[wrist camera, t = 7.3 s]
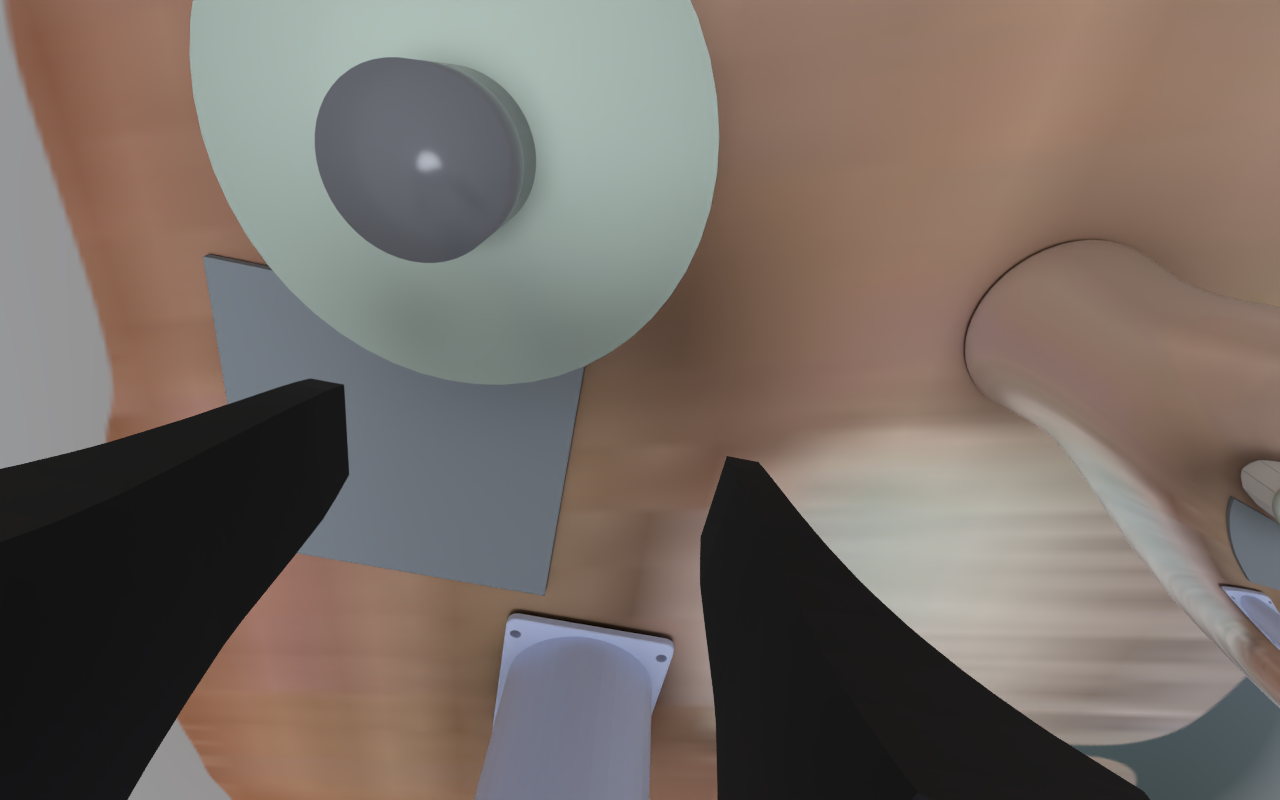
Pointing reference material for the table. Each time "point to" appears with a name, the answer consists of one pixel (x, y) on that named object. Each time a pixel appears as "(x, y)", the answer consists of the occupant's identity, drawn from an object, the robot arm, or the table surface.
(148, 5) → the table surface
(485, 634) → the table surface
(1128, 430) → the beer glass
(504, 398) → the mat
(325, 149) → the lid
